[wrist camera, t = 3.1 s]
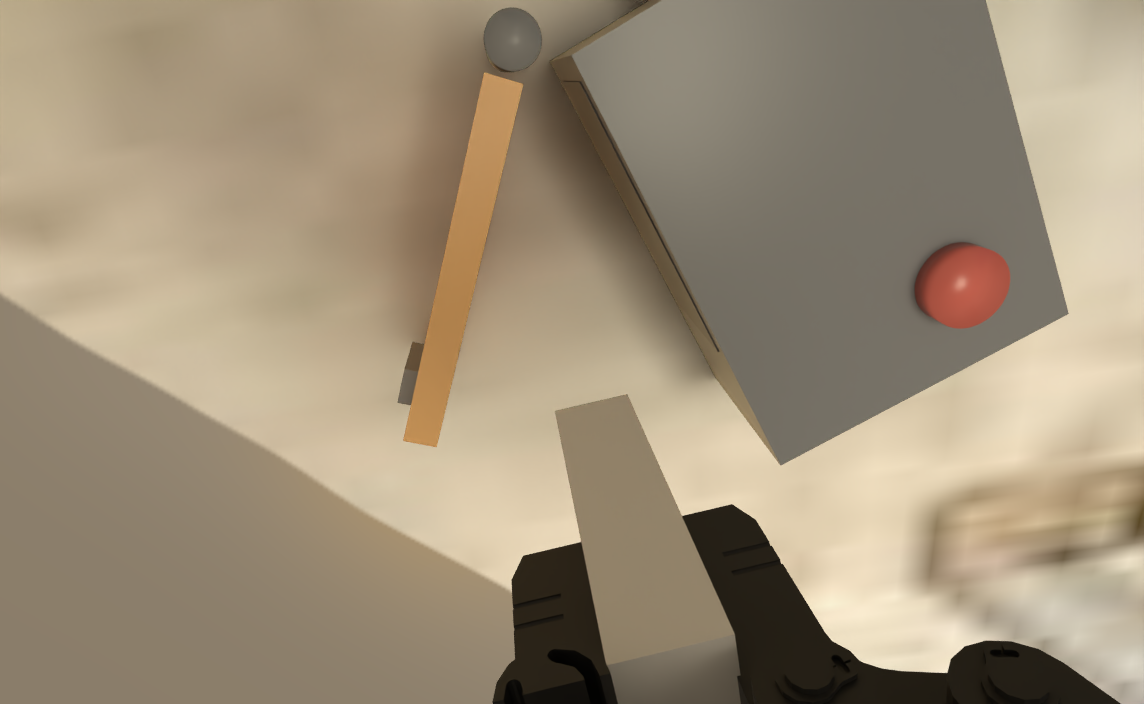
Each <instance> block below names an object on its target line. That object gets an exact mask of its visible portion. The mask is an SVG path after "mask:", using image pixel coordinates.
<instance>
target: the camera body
mask: <svg viewBox="0 0 1144 704" xmlns="http://www.w3.org/2000/svg"><path fill="white" fill-rule="evenodd" d="M550 63H551V65H552V67H553V69H554V71H555V73H556V74H557V76H558V78H559V80H560V82H561V84H562V86H563V88H564V90H565V92H566V94H567V95H568V97H569V99H570V101H571V103H572V105H573V107H574V109H575V111H576V113H577V115H578V116H579V118H580V120H581V122H582V124H583V126H584V128H585V130H586V132H587V134H588V135H589V137H590V139H591V141H592V143H593V145H594V147H595V149H596V151H597V153H598V155H599V156H600V158H601V160H602V162H603V164H604V166H605V168H606V170H607V172H608V174H609V176H610V177H611V179H612V181H613V183H614V185H615V187H616V189H617V191H618V193H619V195H620V197H621V198H622V200H623V202H624V204H625V206H626V208H627V210H628V212H629V214H630V216H631V218H632V219H633V221H634V223H635V225H636V227H637V229H638V231H639V233H640V235H641V237H642V239H643V240H644V242H645V244H646V246H647V248H648V250H649V252H650V254H651V256H652V258H653V260H654V261H655V263H656V265H657V267H658V269H659V271H660V273H661V275H662V277H663V279H664V281H665V282H666V284H667V286H668V288H669V290H670V292H671V294H672V296H673V298H674V300H675V301H676V303H677V305H678V307H679V309H680V311H681V313H682V315H683V317H684V319H685V321H686V322H687V324H688V326H689V328H690V330H691V332H692V334H693V336H694V338H695V340H696V342H697V343H698V345H699V347H700V349H701V351H702V353H703V355H704V357H705V359H706V361H707V363H708V364H709V366H710V368H711V370H712V372H713V374H714V376H715V378H716V379H717V381H718V382H719V383H720V385H721V386H722V387H723V389H724V390H725V391H726V393H727V394H728V395H729V397H730V398H731V399H732V401H733V402H734V404H735V405H736V406H737V408H738V409H739V410H740V412H741V413H742V414H743V416H744V417H745V418H746V420H747V421H748V422H749V424H750V425H751V426H752V428H753V429H754V430H755V432H756V433H757V434H758V436H759V437H760V439H761V440H762V441H763V443H764V444H765V445H766V447H767V448H768V449H769V451H770V452H771V453H772V455H773V456H774V457H775V459H776V460H777V461H778V463H779V464H780V465H783V464H784V463H786V462H788V461H790V460H792V459H794V458H796V457H798V456H800V455H802V454H803V453H805V452H807V451H809V450H811V449H813V448H815V447H817V446H819V445H820V444H822V443H824V442H826V441H828V440H830V439H832V438H834V437H836V436H838V435H839V434H841V433H843V432H845V431H847V430H849V429H851V428H853V427H855V426H857V425H858V424H860V423H862V422H864V421H866V420H868V419H870V418H872V417H874V416H876V415H877V414H879V413H881V412H883V411H885V410H887V409H889V408H891V407H893V406H895V405H896V404H898V403H900V402H902V401H904V400H906V399H908V398H910V397H912V396H913V395H915V394H917V393H919V392H921V391H923V390H925V389H927V388H929V387H931V386H932V385H934V384H936V383H938V382H940V381H942V380H944V379H946V378H948V377H950V376H951V375H953V374H955V373H957V372H959V371H961V370H963V369H965V368H967V367H969V366H970V365H972V364H974V363H976V362H978V361H980V360H982V359H984V358H986V357H987V356H989V355H991V354H993V353H995V352H997V351H999V350H1001V349H1003V348H1005V347H1006V346H1008V345H1010V344H1012V343H1014V342H1016V341H1018V340H1020V339H1022V338H1024V337H1025V336H1027V335H1029V334H1031V333H1033V332H1035V331H1037V330H1039V329H1041V328H1043V327H1044V326H1046V325H1048V324H1050V323H1052V322H1054V321H1056V320H1058V319H1060V318H1061V317H1063V316H1065V315H1067V314H1069V313H1068V310H1067V306H1066V302H1065V298H1064V294H1063V291H1062V287H1061V283H1060V279H1059V276H1058V272H1057V268H1056V264H1055V261H1054V257H1053V253H1052V249H1051V245H1050V242H1049V238H1048V234H1047V230H1046V227H1045V223H1044V219H1043V215H1042V212H1041V208H1040V204H1039V200H1038V196H1037V193H1036V189H1035V185H1034V181H1033V178H1032V174H1031V170H1030V166H1029V162H1028V159H1027V155H1026V151H1025V147H1024V144H1023V140H1022V136H1021V132H1020V129H1019V125H1018V121H1017V117H1016V113H1015V110H1014V106H1013V102H1012V98H1011V95H1010V91H1009V87H1008V83H1007V79H1006V76H1005V72H1004V68H1003V64H1002V61H1001V57H1000V53H999V49H998V46H997V42H996V38H995V34H994V30H993V27H992V23H991V19H990V15H989V12H988V8H987V4H986V0H649V1H647V2H646V3H644V4H643V5H641V6H639V7H638V8H636V9H634V10H633V11H631V12H629V13H628V14H626V15H625V16H623V17H621V18H620V19H618V20H616V21H615V22H613V23H611V24H610V25H608V26H606V27H605V28H603V29H602V30H600V31H598V32H597V33H595V34H593V35H592V36H590V37H588V38H587V39H585V40H584V41H582V42H580V43H579V44H577V45H575V46H574V47H572V48H570V49H569V50H567V51H566V52H564V53H562V54H561V55H559V56H557V57H556V58H554V59H552V60H551V61H550Z"/></svg>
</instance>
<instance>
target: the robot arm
mask: <svg viewBox="0 0 1144 704" xmlns="http://www.w3.org/2000/svg"><path fill="white" fill-rule="evenodd" d="M555 414H556V419H557V424H558V429H559V434H560V439H561V444H562V448H563V453H564V458H565V463H566V468H567V473H568V478H569V483H570V488H571V493H572V498H573V503H574V508H575V513H576V518H577V523H578V528H579V533H580V538H581V542H580V543H576V544H571V545H567V546H563V547H559V548H555V549H550V550H546V551H542V552H538V553H533V554H529V555H525V556H523V557H522V559H521V562H520V564H519V566H518V568H517V570H516V572H515V574H514V576H513V578H512V596H513V597H512V598H513V608H514V610H513V621H514V629H515V631H514V643H515V660H514V661H513V662H511V663H510V664H509V665H508V666H507V668H506V670H505V671H504V672H503V674H502V675H501V677H500V678H499V680H498V682H497V684H496V689H495V694H494V698H493V704H1120V703H1119V702H1118V701H1116V700H1115V699H1113V698H1112V697H1111V696H1109V695H1108V694H1106V693H1105V692H1104V691H1102V690H1101V689H1099V688H1098V687H1097V686H1095V685H1094V684H1092V683H1091V682H1090V681H1088V680H1087V679H1085V678H1084V677H1083V676H1081V675H1080V674H1078V673H1077V672H1076V671H1074V670H1073V669H1071V668H1070V667H1069V666H1067V665H1066V664H1064V663H1063V662H1061V661H1059V660H1057V659H1055V658H1054V657H1052V656H1050V655H1048V654H1046V653H1045V652H1043V651H1041V650H1039V649H1036V648H1032V647H1029V646H1025V645H1022V644H1018V643H1015V642H1011V641H983V642H979V643H976V644H972V645H969V646H965V647H964V648H963V649H962V650H961V651H959V652H958V653H957V654H956V655H955V656H954V657H953V658H952V659H951V662H950V665H949V669H948V673H929V672H906V671H895V670H888V669H881V668H878V667H875V666H872V665H869V664H866V663H863V662H861V661H859V660H858V659H857V658H856V657H855V656H854V655H853V654H852V653H851V651H849V650H847V649H846V648H844V647H842V646H840V645H838V644H836V643H834V642H833V641H831V639H830V638H829V637H828V636H827V634H826V633H825V632H824V630H823V629H822V627H821V625H820V624H819V622H818V620H817V619H816V617H815V616H814V614H813V612H812V611H811V609H810V607H809V606H808V604H807V603H806V601H805V599H804V598H803V596H802V594H801V593H800V591H799V590H798V588H797V586H796V585H795V583H794V581H793V580H792V578H791V577H790V575H789V573H788V572H787V570H786V568H785V567H784V565H783V564H781V562H780V559H779V557H778V555H777V554H776V552H775V551H774V549H773V547H772V546H770V544H769V541H768V539H767V538H766V536H765V534H764V533H763V531H762V529H761V528H760V526H759V525H758V523H757V521H756V520H755V519H754V518H752V517H751V516H749V515H747V514H746V513H744V512H743V511H741V510H740V509H738V508H737V507H735V506H734V505H732V504H731V505H727V506H723V507H719V508H714V509H710V510H706V511H702V512H698V513H693V514H689V515H685V516H682V515H681V513H680V511H679V509H678V507H677V504H676V502H675V500H674V498H673V495H672V493H671V491H670V489H669V486H668V484H667V482H666V480H665V478H664V475H663V473H662V471H661V469H660V466H659V464H658V462H657V460H656V457H655V455H654V453H653V451H652V449H651V446H650V444H649V442H648V440H647V437H646V435H645V433H644V431H643V428H642V426H641V424H640V422H639V420H638V417H637V415H636V413H635V411H634V408H633V406H632V404H631V402H630V399H629V397H628V395H627V394H626V395H622V396H618V397H613V398H609V399H605V400H600V401H596V402H592V403H587V404H583V405H579V406H574V407H570V408H566V409H561V410H557V411H555Z"/></svg>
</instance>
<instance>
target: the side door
mask: <svg viewBox="0 0 1144 704" xmlns="http://www.w3.org/2000/svg"><path fill="white" fill-rule="evenodd" d="M541 44H542V37H541V31H540V28H539V26H538V24H537V22H536V21H535V19H534V18H533V17H532V16H531V15H530V14H529V13H527V12H526V11H524V10H522V9H518V8H505V9H502V10H500V11H498V12H496V13H495V14H494V15H493V16H492V17H491V18H490V19H489V21H488V23H487V25H486V27H485V31H484V45H485V50H486V54H487V57H488V60H489V61H490V63H491V64H492V65H493V66H494V67H495V68H496V69H497V70H499V71H502V72H515V71H519V70H522V69H525V68H527V67H528V66H530V65H531V64H532V63H533V62H534V61H535V60H536V58H537V57H538V55H539V53H540V49H541ZM522 88H523V84H521V83H518V82H515V81H511V80H508V79H505V78H501V77H498V76H495V75H491V74H488V73H485V72H484V76H483V80H482V85H481V89H480V94H479V98H478V103H477V107H476V112H475V116H474V121H473V126H472V130H471V135H470V139H469V144H468V148H467V153H466V157H465V162H464V166H463V171H462V176H461V180H460V185H459V189H458V194H457V198H456V203H455V207H454V212H453V217H452V221H451V226H450V230H449V235H448V239H447V244H446V248H445V253H444V257H443V262H442V267H441V271H440V276H439V280H438V285H437V289H436V294H435V298H434V303H433V307H432V312H431V317H430V321H429V326H428V330H427V335H426V339H425V344H420V343H415V342H413V343H412V346H411V349H410V353H409V356H408V359H407V363H406V366H405V370H404V374H403V379H402V384H401V389H400V393H399V398H398V403H402V404H407V405H411V408H410V412H409V417H408V421H407V426H406V430H405V435H404V439H403V441H407V442H412V443H417V444H423V445H428V446H433V447H437V443H438V439H439V435H440V430H441V426H442V422H443V418H444V414H445V409H446V405H447V401H448V397H449V393H450V389H451V384H452V380H453V376H454V372H455V368H456V364H457V359H458V355H459V351H460V347H461V343H462V338H463V334H464V330H465V326H466V322H467V318H468V313H469V309H470V305H471V301H472V297H473V292H474V288H475V284H476V280H477V276H478V272H479V267H480V263H481V259H482V255H483V251H484V247H485V242H486V238H487V234H488V230H489V226H490V221H491V217H492V213H493V209H494V205H495V201H496V196H497V192H498V188H499V184H500V180H501V175H502V171H503V167H504V163H505V159H506V155H507V150H508V146H509V142H510V138H511V134H512V130H513V125H514V121H515V117H516V113H517V109H518V104H519V100H520V96H521V92H522Z"/></svg>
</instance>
